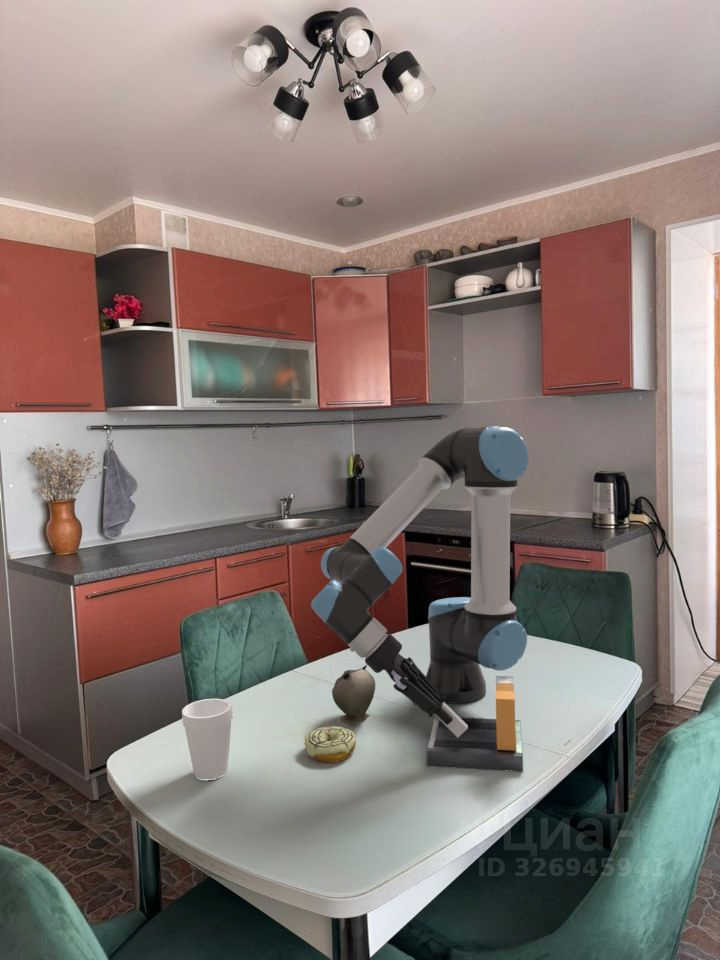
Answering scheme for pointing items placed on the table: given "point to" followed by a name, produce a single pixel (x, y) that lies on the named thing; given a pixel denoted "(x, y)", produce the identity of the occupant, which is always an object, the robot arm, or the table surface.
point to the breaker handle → (505, 720)
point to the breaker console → (475, 742)
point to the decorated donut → (330, 744)
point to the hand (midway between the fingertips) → (462, 731)
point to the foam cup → (208, 736)
